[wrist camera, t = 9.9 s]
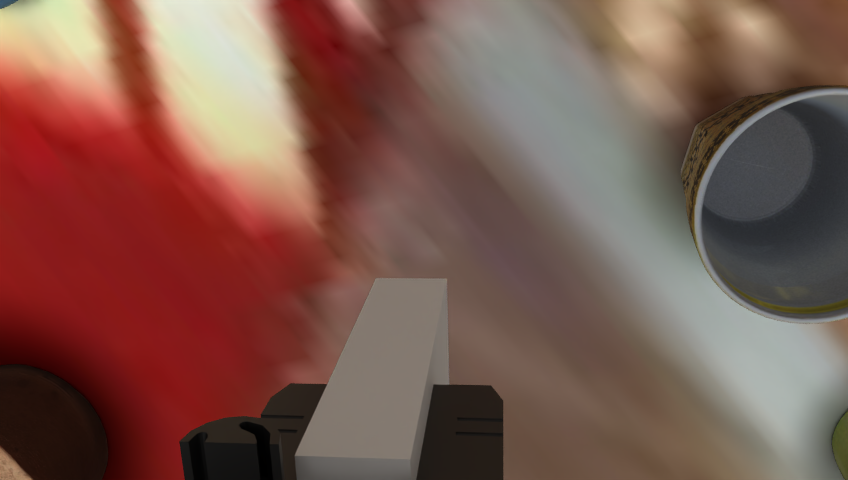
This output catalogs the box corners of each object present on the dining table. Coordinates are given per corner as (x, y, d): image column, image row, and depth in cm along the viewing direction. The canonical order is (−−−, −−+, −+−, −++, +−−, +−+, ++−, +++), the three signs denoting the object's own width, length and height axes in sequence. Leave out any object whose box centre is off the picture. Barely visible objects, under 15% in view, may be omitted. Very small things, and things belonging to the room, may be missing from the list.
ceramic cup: (626, 227, 42) (662, 294, 32) (683, 45, 39) (741, 60, 29) (859, 281, 41) (964, 364, 32) (935, 101, 38) (1077, 135, 29)
